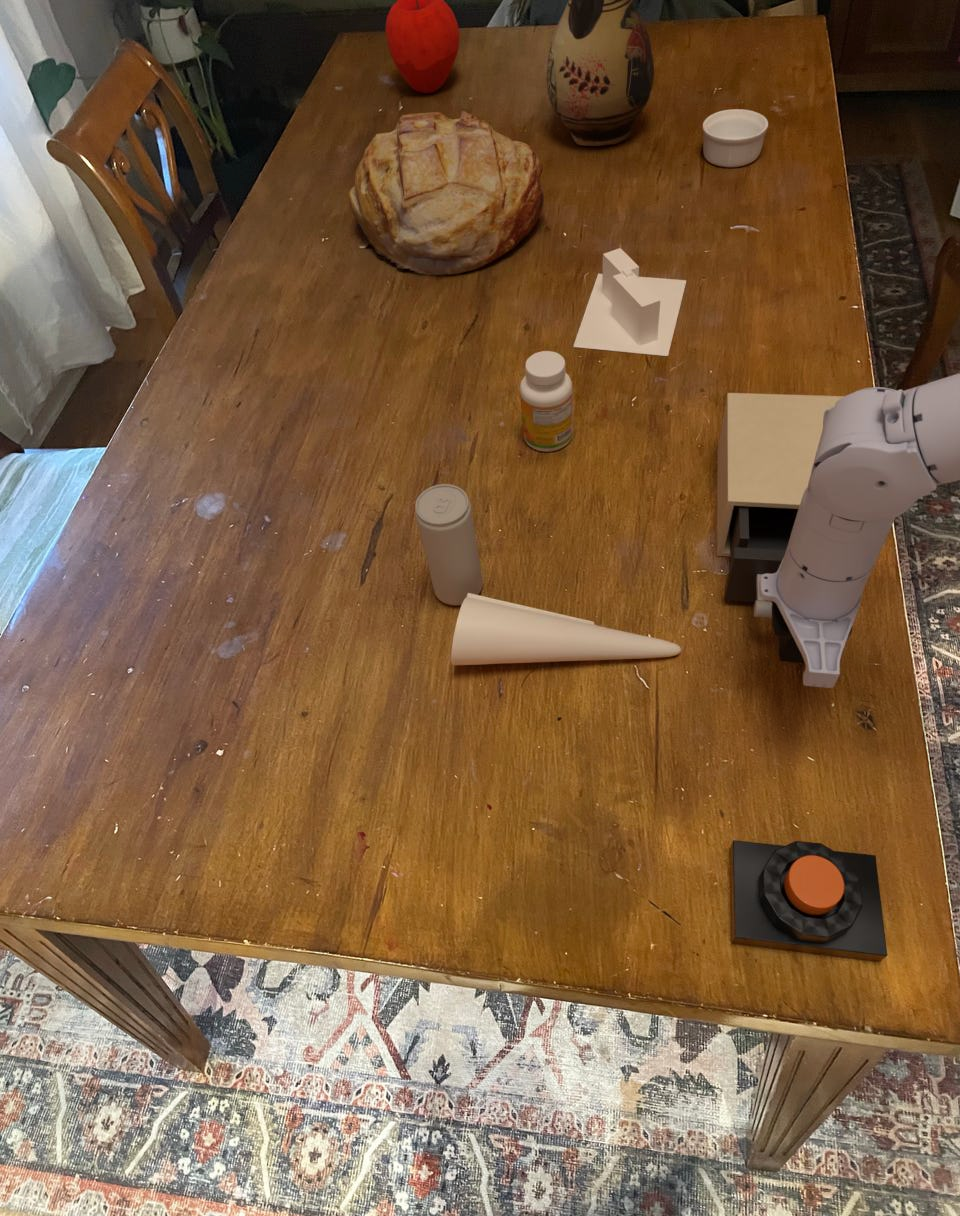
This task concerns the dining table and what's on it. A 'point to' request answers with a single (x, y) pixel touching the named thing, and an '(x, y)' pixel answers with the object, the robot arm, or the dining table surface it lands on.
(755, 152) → the ramekin
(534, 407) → the supplement bottle
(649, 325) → the napkin holder
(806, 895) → the button
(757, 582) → the drawer
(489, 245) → the bread
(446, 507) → the beverage can
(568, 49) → the ceramic jug
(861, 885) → the panel
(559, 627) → the long cone
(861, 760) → the dining table surface
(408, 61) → the apple
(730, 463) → the cabinet
